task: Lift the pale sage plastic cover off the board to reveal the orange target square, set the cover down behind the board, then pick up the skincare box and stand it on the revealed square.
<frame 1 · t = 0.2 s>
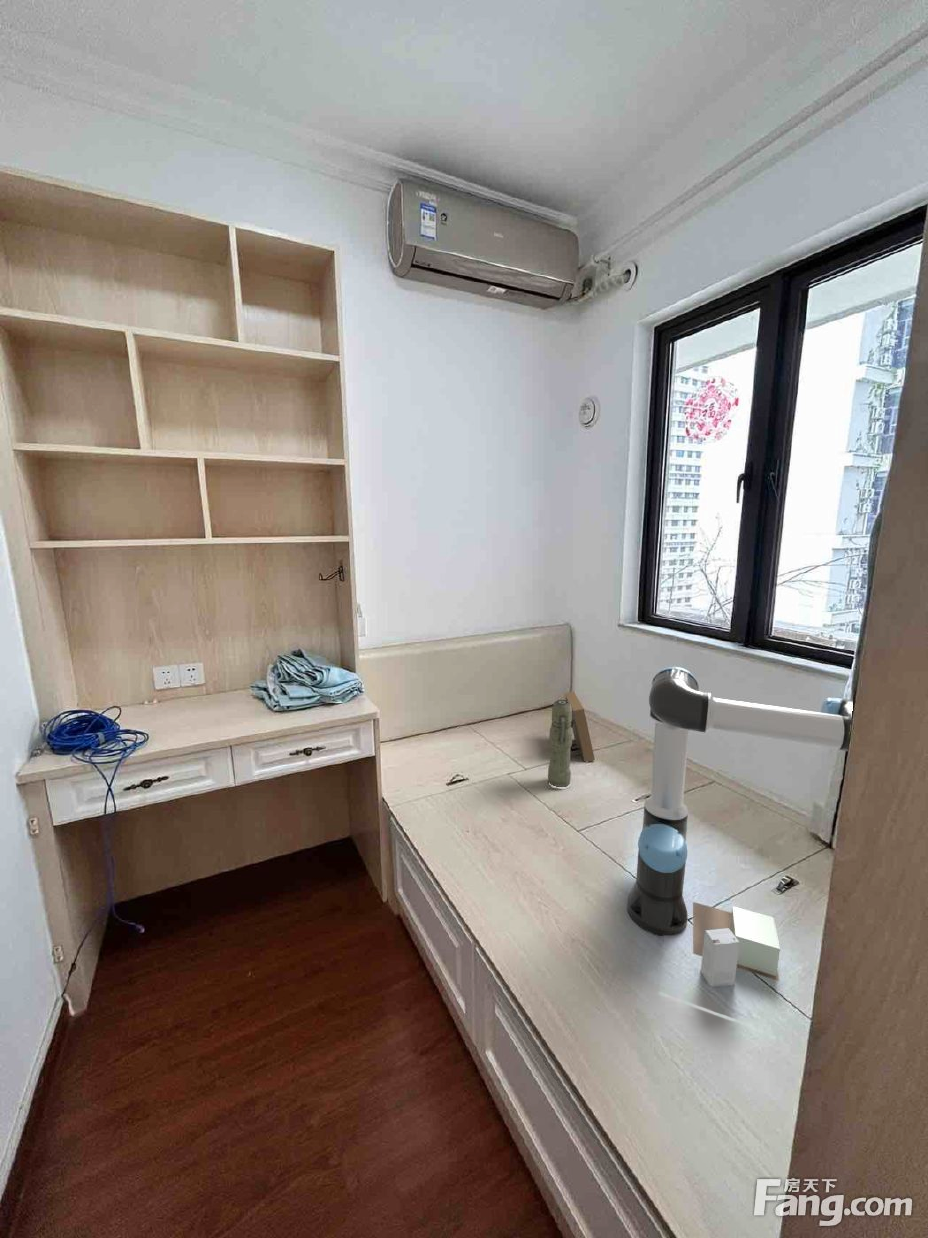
hand: (882, 842, 120), 28 cm above the worktop, fingers open, 13 cm apart
thermos: (558, 784, 199), on the worktop
photo frame: (572, 751, 227), on the worktop
layout board: (731, 939, 125), on the worktop
skincare box: (716, 980, 115), on the worktop
sage cover: (751, 952, 121), resting on layout board
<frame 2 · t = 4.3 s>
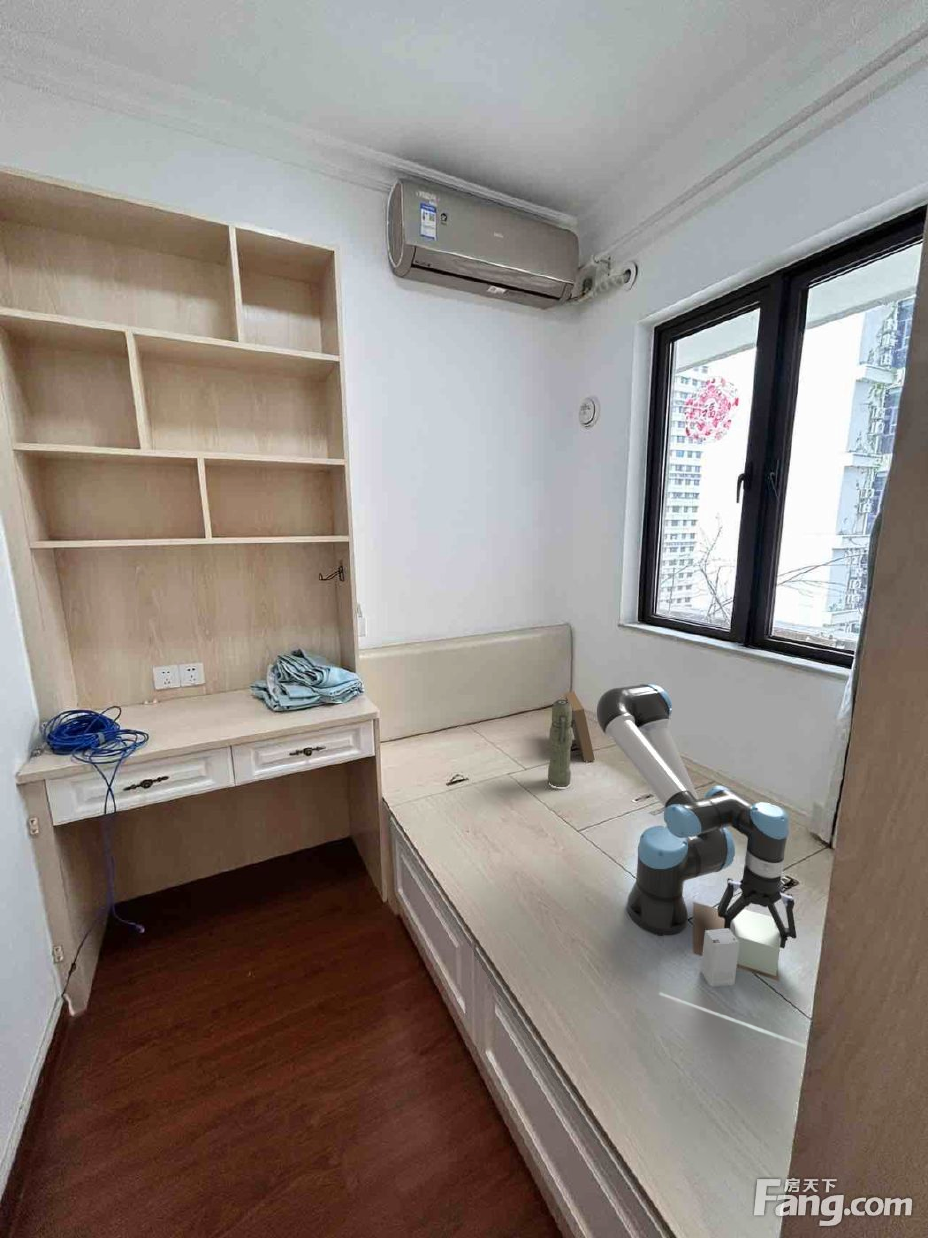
hand: (751, 949, 121), 1 cm above the worktop, fingers closed on sage cover, 9 cm apart
sage cover: (751, 952, 121), point 1 cm above the worktop, touching gripper, layout board
everything else where it was.
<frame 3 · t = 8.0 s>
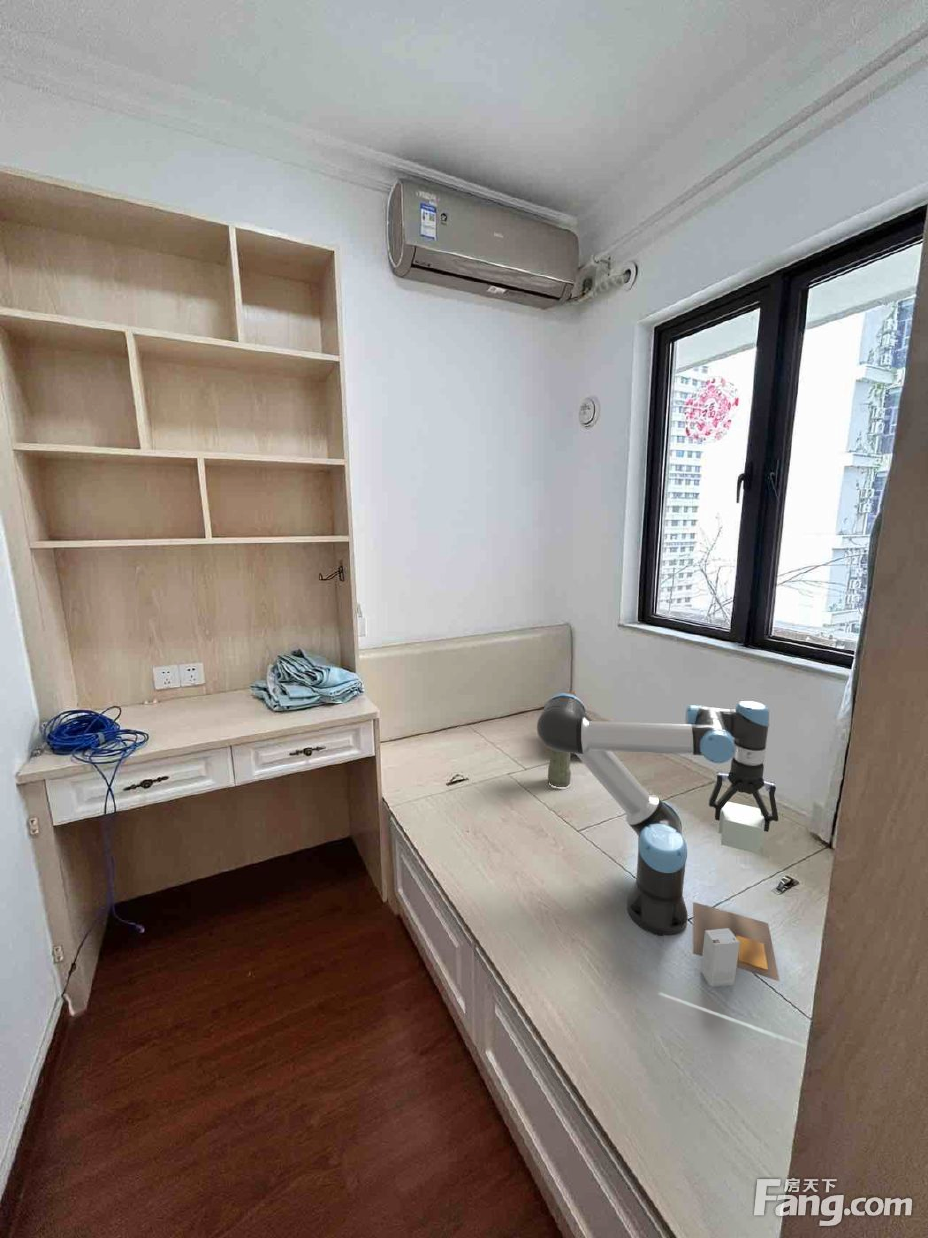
hand: (739, 835, 135), 20 cm above the worktop, fingers closed on sage cover, 9 cm apart
sage cover: (739, 838, 135), point 19 cm above the worktop, touching gripper
everything else where it was.
when the fingers open (3 cm above the worktop, at t = 12.0 s): sage cover drops 2 cm, on the worktop.
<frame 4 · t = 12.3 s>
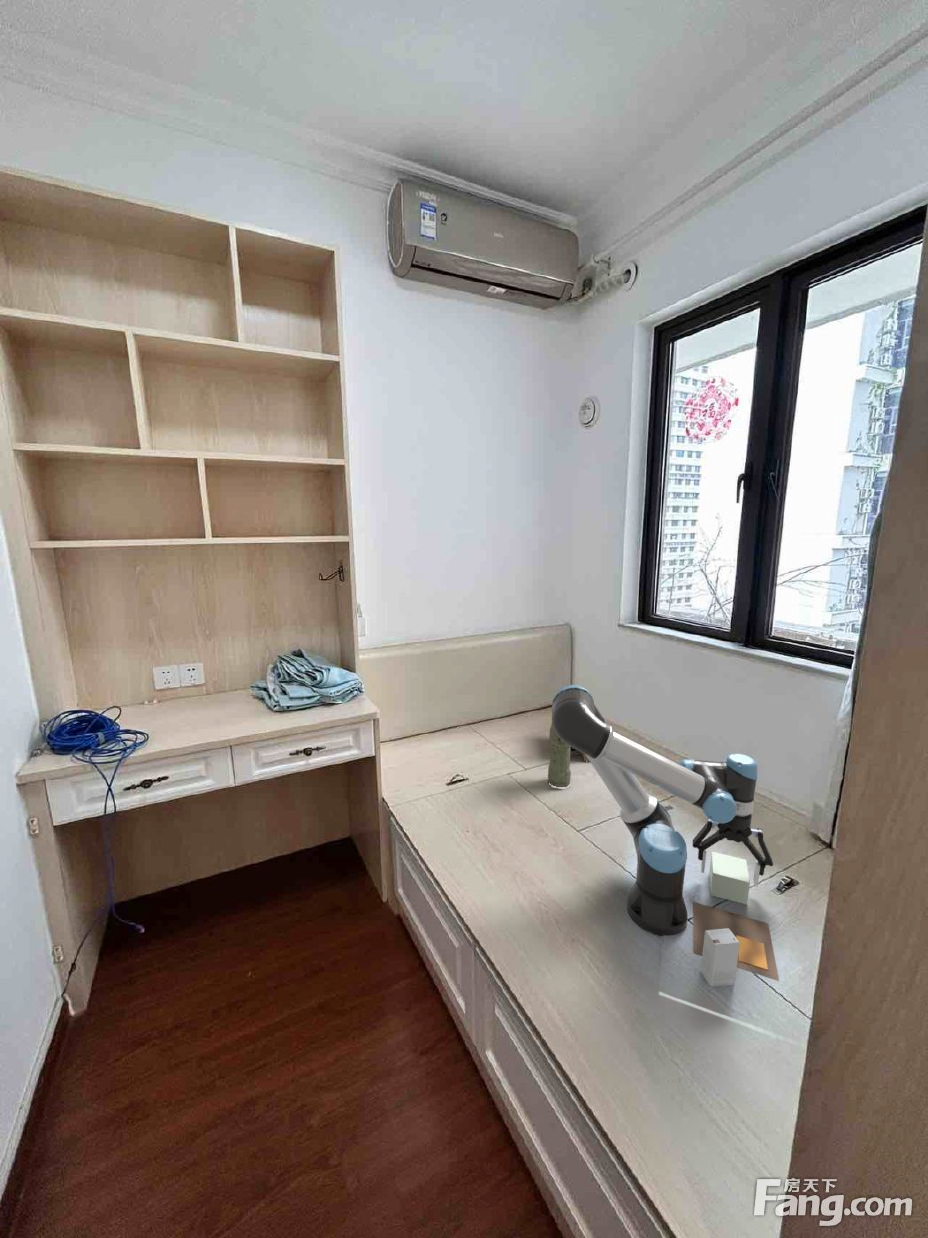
hand: (728, 876, 141), 4 cm above the worktop, fingers open, 13 cm apart
sage cover: (727, 889, 142), on the worktop
everything else where it was.
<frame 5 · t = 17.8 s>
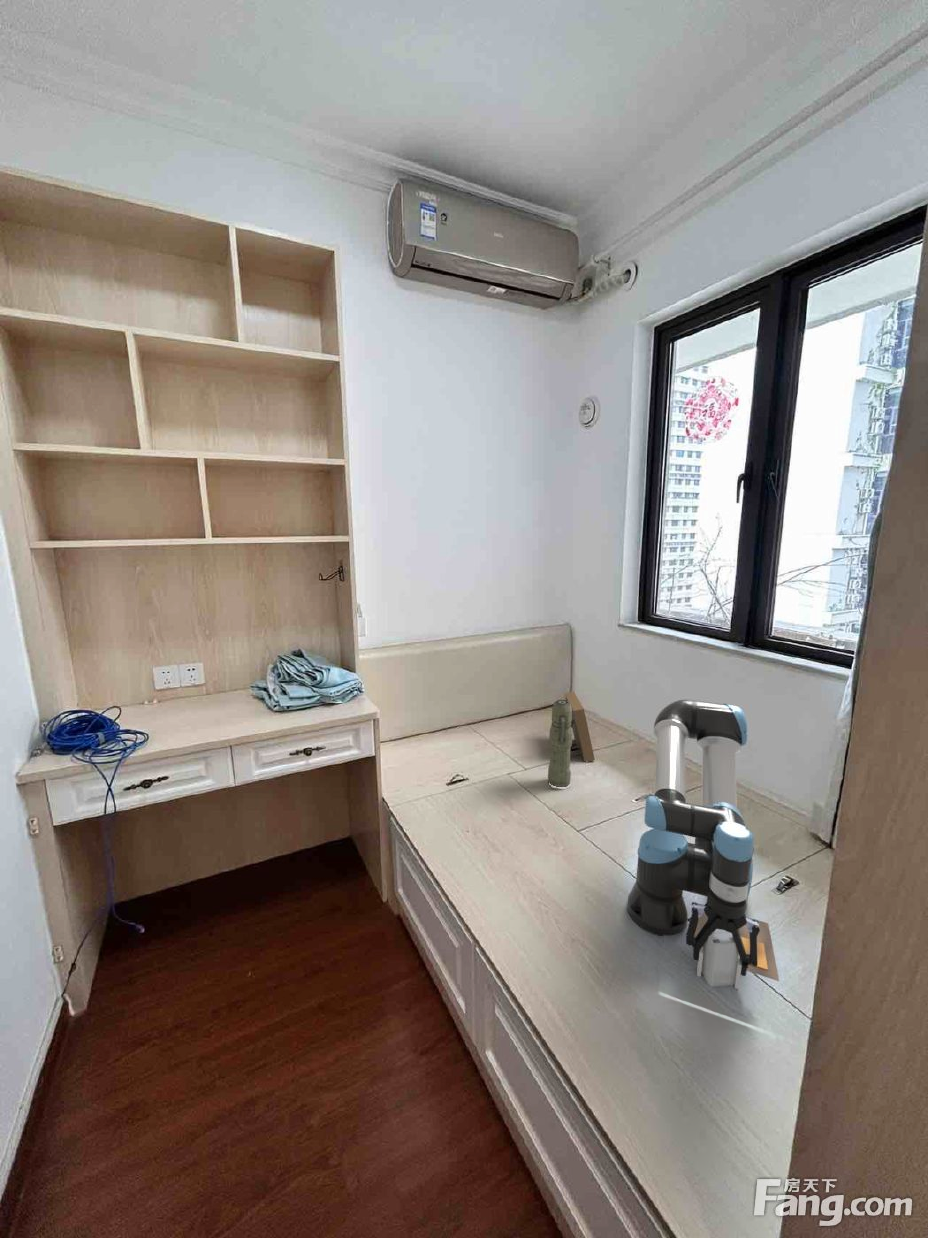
hand: (717, 977, 114), 1 cm above the worktop, fingers closed on skincare box, 7 cm apart
skincare box: (716, 980, 115), on the worktop, touching gripper
everything else where it was.
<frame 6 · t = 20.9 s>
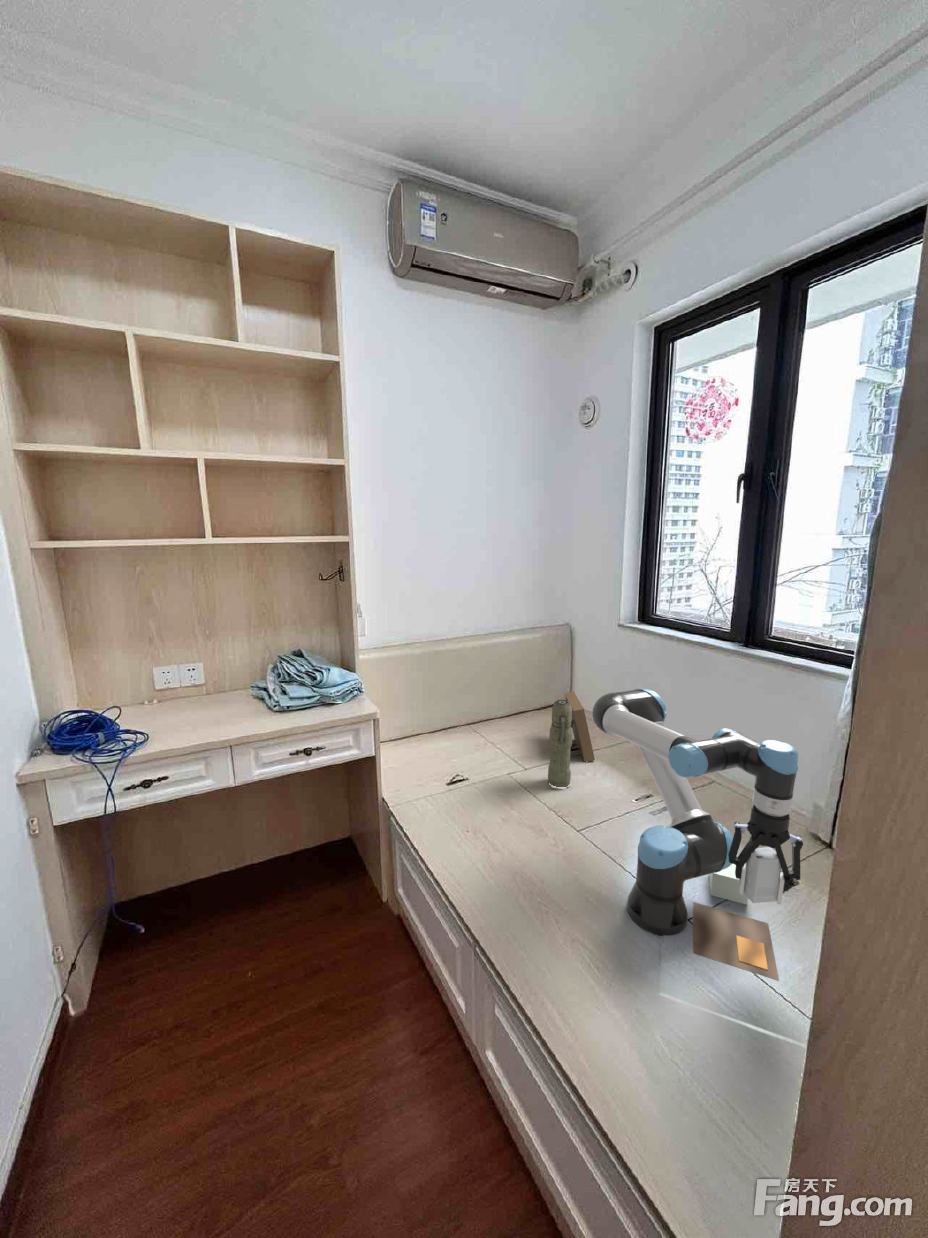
hand: (759, 895, 118), 17 cm above the worktop, fingers closed on skincare box, 7 cm apart
skincare box: (758, 898, 118), point 16 cm above the worktop, touching gripper
everything else where it was.
when the fingers open (3 cm above the worktop, at t = 23.9 s): skincare box drops 1 cm, resting on layout board.
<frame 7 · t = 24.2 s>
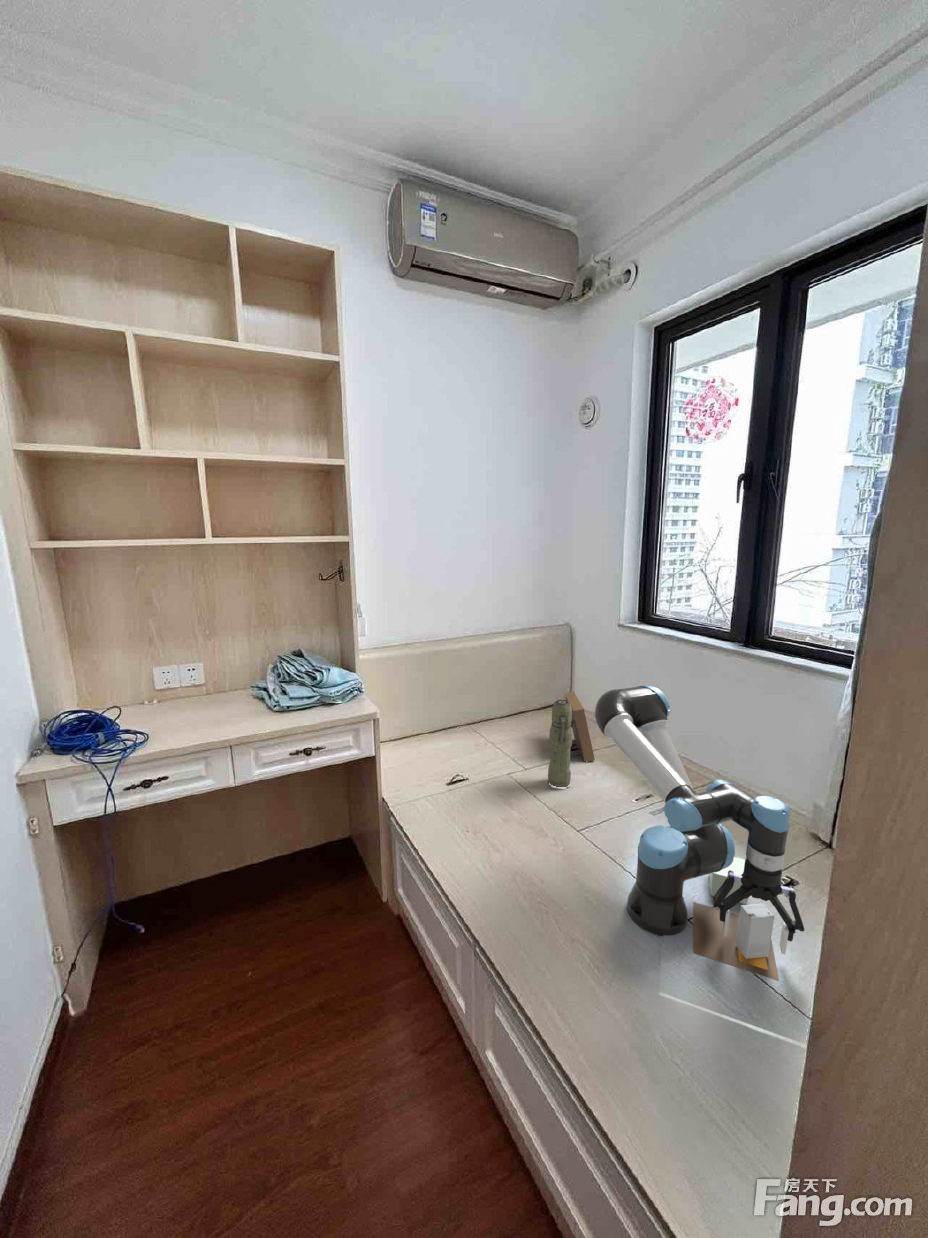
hand: (753, 940, 120), 4 cm above the worktop, fingers open, 11 cm apart
skincare box: (751, 952, 121), point 1 cm above the worktop, touching layout board
everything else where it was.
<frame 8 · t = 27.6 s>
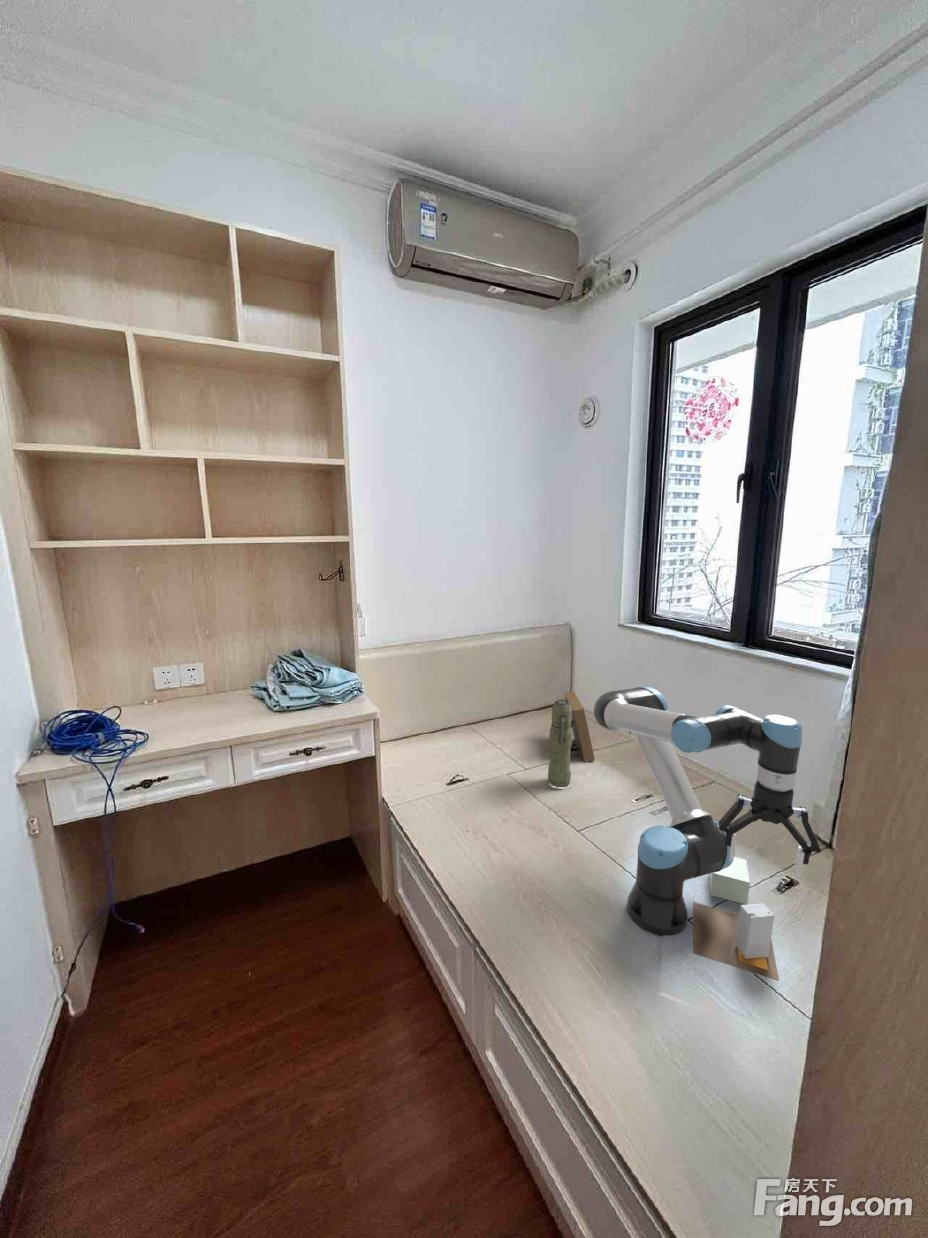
hand: (763, 866, 116), 25 cm above the worktop, fingers open, 13 cm apart
nothing on the worktop moved.
at the end: skincare box 0.1 cm from the target spot, point 0.5 cm above the worktop; skincare box tilted 0°; sage cover moved 22.3 cm from its start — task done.
